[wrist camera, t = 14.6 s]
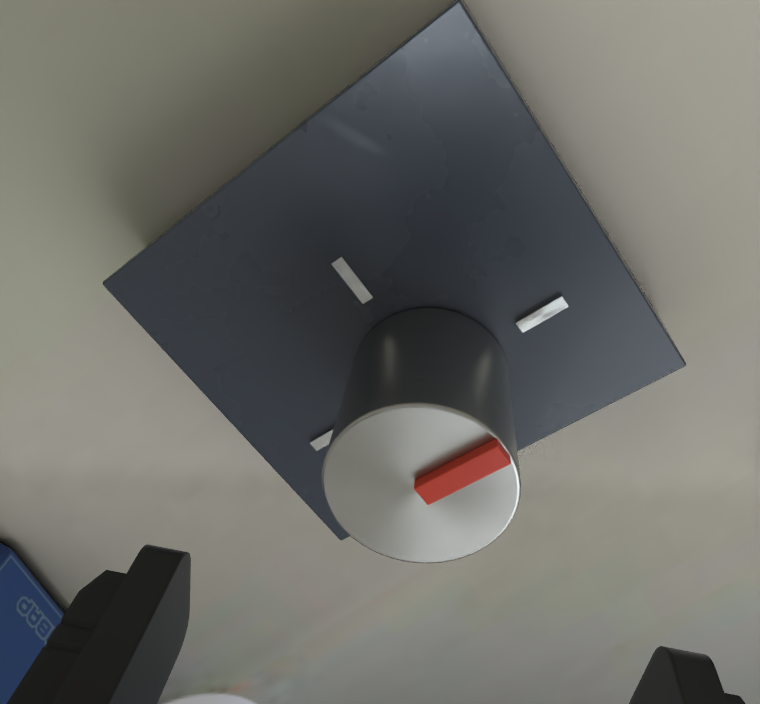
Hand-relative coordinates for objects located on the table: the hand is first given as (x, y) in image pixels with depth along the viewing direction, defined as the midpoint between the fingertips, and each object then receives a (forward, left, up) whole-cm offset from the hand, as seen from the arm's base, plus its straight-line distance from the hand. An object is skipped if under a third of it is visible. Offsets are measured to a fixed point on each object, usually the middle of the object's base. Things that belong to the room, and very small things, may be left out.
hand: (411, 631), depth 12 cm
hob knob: (0, 0, -9) cm, 9 cm away
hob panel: (0, +2, -12) cm, 12 cm away
